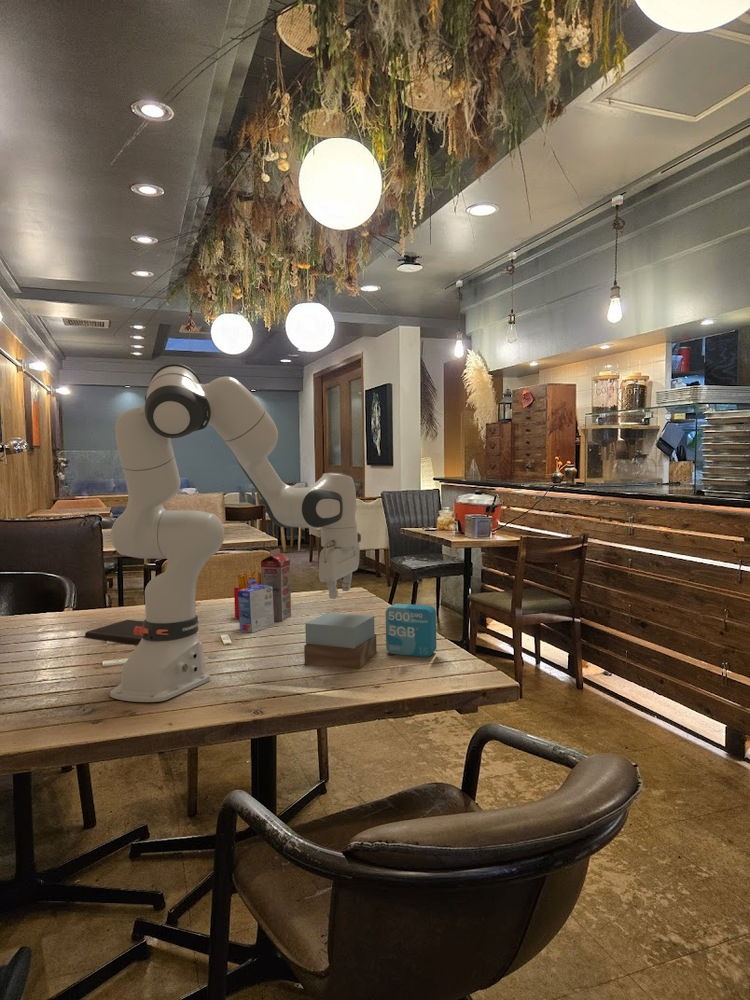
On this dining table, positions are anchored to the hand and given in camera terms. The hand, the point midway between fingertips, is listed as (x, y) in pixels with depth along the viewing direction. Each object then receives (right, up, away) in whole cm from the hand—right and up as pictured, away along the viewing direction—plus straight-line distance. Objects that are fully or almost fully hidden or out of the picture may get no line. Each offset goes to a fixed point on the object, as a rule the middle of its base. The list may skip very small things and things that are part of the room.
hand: (340, 594), depth 160 cm
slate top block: (0, -11, 0) cm, 11 cm away
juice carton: (-22, -14, +42) cm, 50 cm away
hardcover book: (-60, -16, +27) cm, 68 cm away
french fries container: (-30, -14, +45) cm, 56 cm away
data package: (+18, -16, +3) cm, 24 cm away
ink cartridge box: (-26, -15, +31) cm, 44 cm away
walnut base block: (0, -16, +1) cm, 16 cm away
